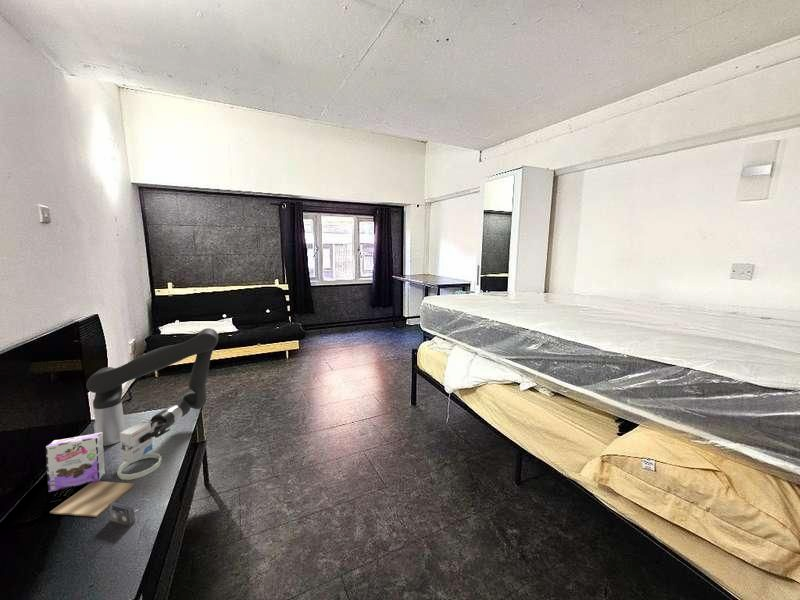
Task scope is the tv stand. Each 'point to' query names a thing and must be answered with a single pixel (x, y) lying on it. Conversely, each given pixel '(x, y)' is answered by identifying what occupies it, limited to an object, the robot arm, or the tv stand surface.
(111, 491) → the wooden board
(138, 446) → the ink box
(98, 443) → the candy box
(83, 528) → the tv stand surface
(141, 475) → the ceramic dish
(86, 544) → the tv stand surface
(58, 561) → the tv stand surface
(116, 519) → the mini dv tape
